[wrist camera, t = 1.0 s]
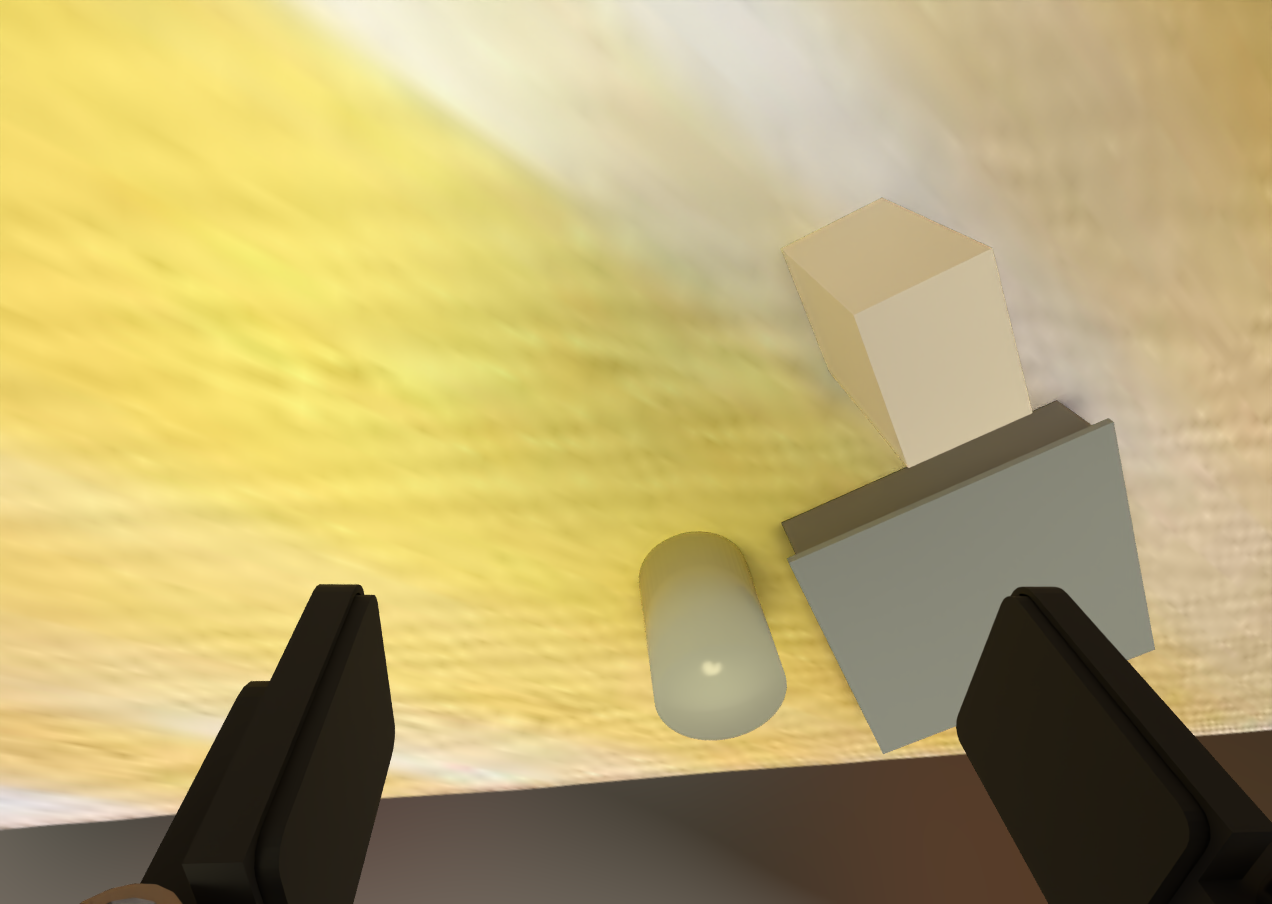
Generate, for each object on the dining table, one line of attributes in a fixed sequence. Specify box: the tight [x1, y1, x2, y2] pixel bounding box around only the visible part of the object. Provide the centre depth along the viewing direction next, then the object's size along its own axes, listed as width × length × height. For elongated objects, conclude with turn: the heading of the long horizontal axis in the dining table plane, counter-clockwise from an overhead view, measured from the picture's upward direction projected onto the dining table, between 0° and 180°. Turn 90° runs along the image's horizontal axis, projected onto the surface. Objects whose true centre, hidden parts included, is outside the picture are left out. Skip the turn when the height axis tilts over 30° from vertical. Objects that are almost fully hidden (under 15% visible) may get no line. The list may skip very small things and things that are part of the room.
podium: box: [782, 401, 1155, 754], centre depth 42 cm, size 17×17×4 cm
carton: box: [781, 198, 1033, 468], centre depth 31 cm, size 5×7×10 cm
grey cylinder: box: [639, 532, 787, 740], centre depth 39 cm, size 6×6×9 cm
